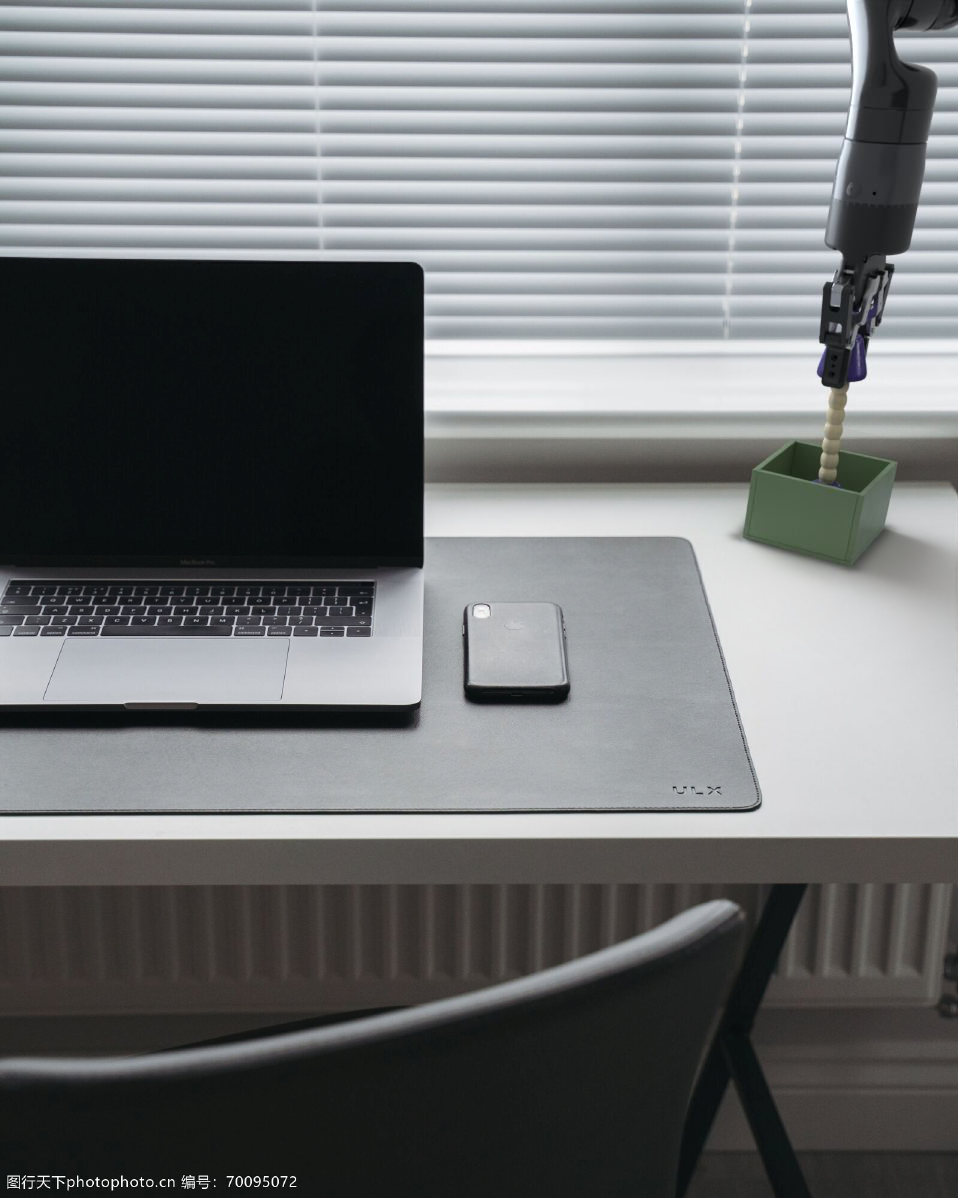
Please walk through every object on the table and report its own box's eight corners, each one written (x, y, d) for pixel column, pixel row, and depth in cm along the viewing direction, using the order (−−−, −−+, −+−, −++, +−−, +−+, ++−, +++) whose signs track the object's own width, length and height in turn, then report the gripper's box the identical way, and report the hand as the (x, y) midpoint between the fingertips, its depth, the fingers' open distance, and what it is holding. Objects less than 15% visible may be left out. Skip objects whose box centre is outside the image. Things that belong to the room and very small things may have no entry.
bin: (883, 529, 116) (898, 461, 112) (849, 567, 108) (864, 496, 104) (781, 504, 121) (792, 438, 118) (742, 538, 113) (752, 469, 110)
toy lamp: (798, 504, 111) (826, 339, 103) (794, 486, 115) (820, 326, 107) (847, 507, 110) (879, 342, 102) (841, 490, 114) (871, 329, 106)
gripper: (894, 208, 92) (857, 406, 100) (939, 189, 102) (902, 370, 110) (806, 199, 95) (777, 390, 103) (858, 182, 106) (828, 357, 114)
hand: (842, 379), depth 107 cm, fingers closed on toy lamp, 4 cm apart
